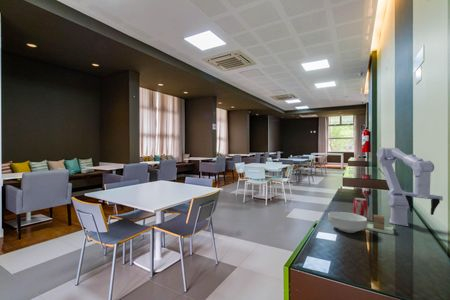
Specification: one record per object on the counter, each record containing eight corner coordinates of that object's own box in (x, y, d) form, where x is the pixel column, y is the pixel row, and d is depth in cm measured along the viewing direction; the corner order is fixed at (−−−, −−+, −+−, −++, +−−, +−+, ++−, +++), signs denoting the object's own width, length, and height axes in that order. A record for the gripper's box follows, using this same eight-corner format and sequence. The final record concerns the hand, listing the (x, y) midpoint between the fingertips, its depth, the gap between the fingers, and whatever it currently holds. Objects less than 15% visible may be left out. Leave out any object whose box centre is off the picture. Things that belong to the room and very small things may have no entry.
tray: (365, 223, 121) (365, 221, 121) (392, 228, 114) (392, 226, 114) (363, 229, 111) (364, 226, 111) (393, 235, 104) (393, 232, 104)
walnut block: (373, 225, 115) (373, 214, 115) (383, 227, 113) (384, 216, 113) (373, 228, 112) (373, 216, 112) (384, 230, 109) (384, 218, 109)
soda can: (369, 222, 123) (369, 200, 123) (355, 220, 125) (356, 199, 125) (363, 218, 130) (364, 198, 130) (350, 217, 132) (351, 197, 132)
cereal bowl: (366, 228, 112) (367, 215, 112) (366, 239, 98) (367, 223, 98) (329, 222, 121) (330, 209, 121) (325, 230, 107) (325, 216, 107)
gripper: (404, 184, 109) (403, 211, 109) (444, 188, 101) (443, 217, 101) (402, 182, 115) (402, 208, 115) (441, 186, 107) (440, 214, 107)
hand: (421, 212), depth 108 cm, fingers open, 7 cm apart
